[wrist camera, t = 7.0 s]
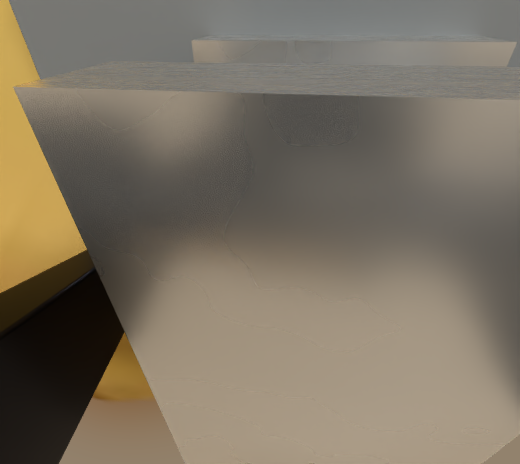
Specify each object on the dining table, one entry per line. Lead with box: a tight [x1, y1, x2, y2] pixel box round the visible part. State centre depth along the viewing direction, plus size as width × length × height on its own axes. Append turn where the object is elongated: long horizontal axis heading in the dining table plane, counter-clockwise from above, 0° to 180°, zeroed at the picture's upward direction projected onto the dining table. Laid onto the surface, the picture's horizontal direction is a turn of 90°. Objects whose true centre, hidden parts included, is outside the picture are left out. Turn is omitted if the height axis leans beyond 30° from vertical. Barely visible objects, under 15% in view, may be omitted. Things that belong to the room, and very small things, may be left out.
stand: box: [9, 0, 520, 79], centre depth 11 cm, size 16×15×3 cm
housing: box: [13, 35, 520, 464], centre depth 7 cm, size 6×9×6 cm, turn 0°
